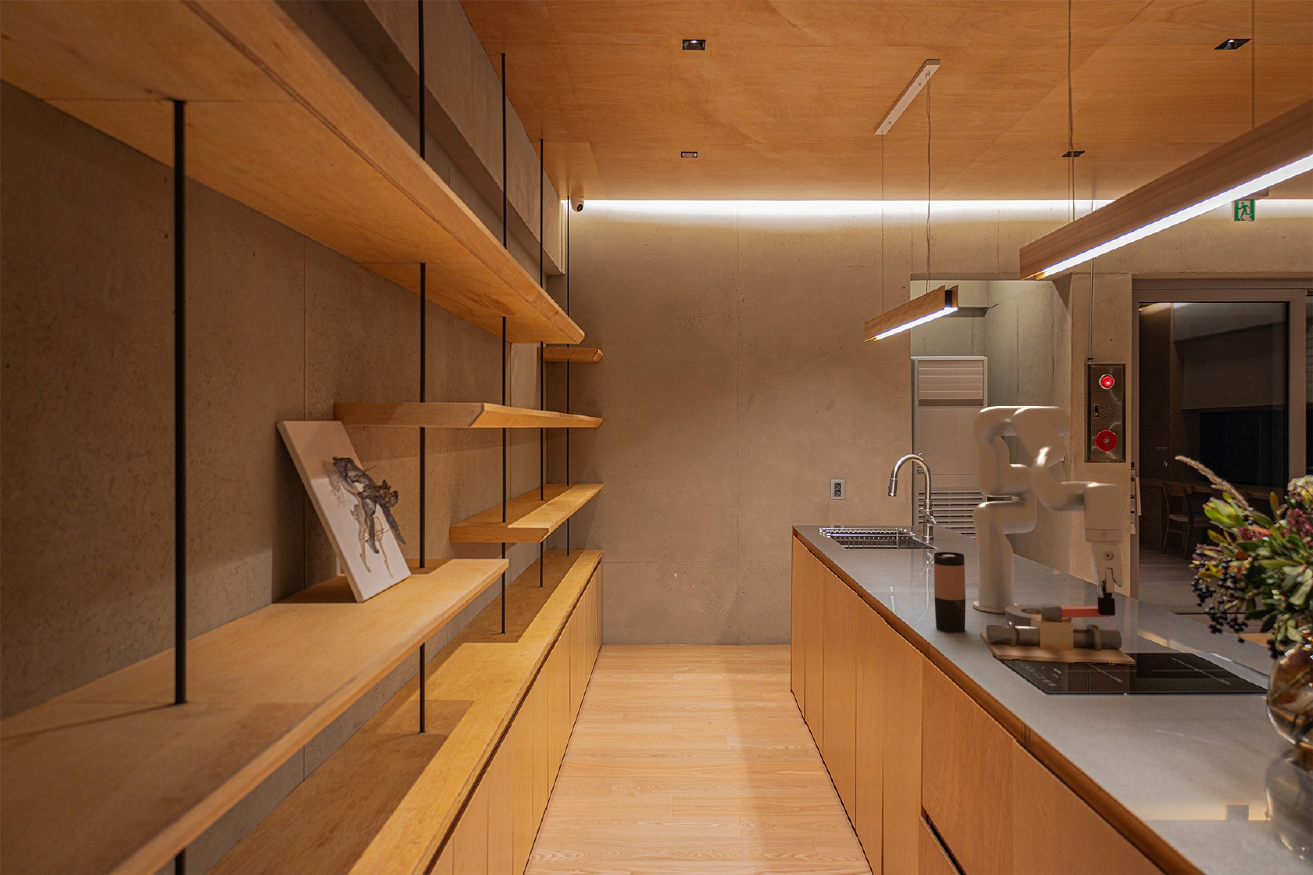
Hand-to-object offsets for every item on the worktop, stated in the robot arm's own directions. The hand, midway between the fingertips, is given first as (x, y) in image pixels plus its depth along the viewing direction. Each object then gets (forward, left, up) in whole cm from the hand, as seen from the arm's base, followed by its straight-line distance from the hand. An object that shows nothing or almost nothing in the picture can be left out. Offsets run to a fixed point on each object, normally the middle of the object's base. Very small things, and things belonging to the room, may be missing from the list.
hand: (1106, 614), depth 162 cm
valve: (0, -12, -9) cm, 15 cm away
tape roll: (-18, -10, -10) cm, 23 cm away
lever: (-1, -6, -1) cm, 7 cm away
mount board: (0, -12, -9) cm, 15 cm away
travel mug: (-15, -32, -9) cm, 36 cm away
